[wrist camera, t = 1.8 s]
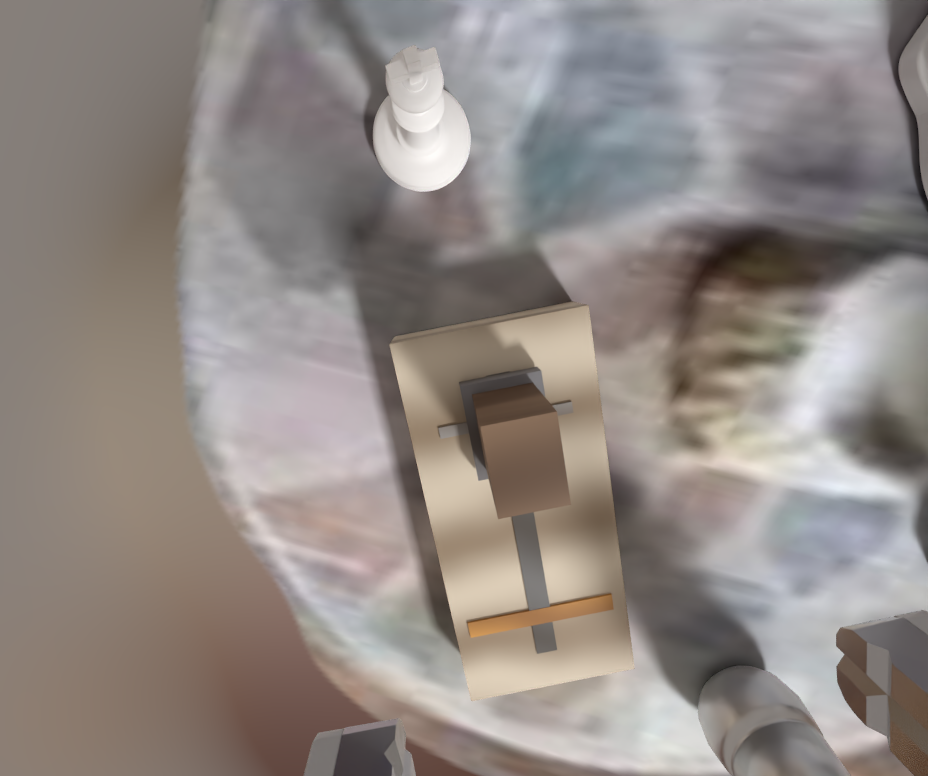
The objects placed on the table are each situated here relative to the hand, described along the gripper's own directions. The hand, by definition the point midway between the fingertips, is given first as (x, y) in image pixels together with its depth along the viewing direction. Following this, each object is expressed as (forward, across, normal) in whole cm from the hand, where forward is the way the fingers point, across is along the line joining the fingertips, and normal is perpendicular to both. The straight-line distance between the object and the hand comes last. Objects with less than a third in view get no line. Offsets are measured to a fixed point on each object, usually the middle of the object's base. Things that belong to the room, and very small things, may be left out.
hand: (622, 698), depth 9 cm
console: (+20, 0, +6) cm, 21 cm away
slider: (+17, 0, 0) cm, 17 cm away
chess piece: (+20, +1, -15) cm, 25 cm away
